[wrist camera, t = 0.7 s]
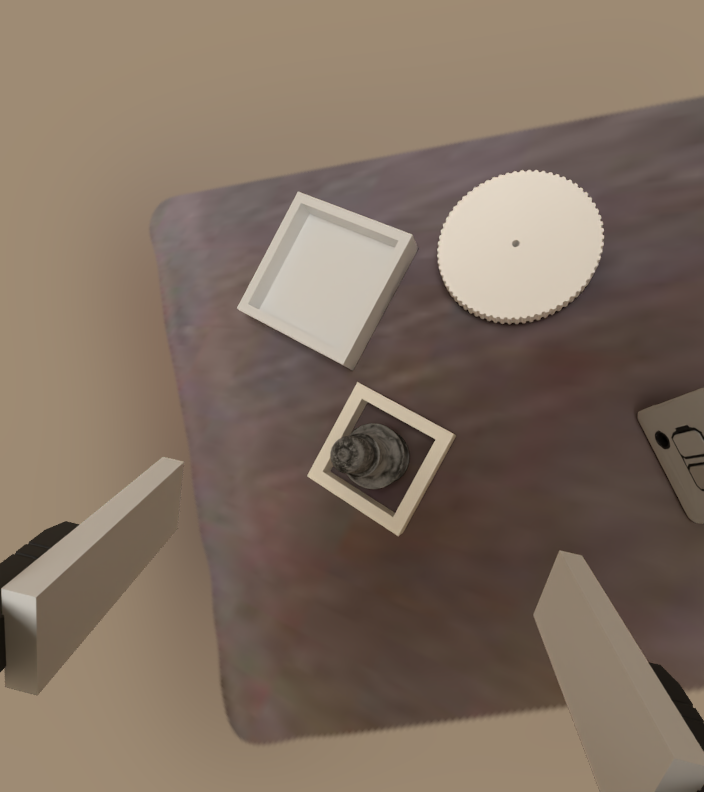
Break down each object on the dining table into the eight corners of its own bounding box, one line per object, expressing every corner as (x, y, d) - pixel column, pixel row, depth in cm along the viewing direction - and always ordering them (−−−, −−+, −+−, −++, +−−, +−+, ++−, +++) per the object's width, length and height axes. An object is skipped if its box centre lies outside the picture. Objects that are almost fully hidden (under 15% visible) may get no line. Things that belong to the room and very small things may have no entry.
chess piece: (422, 442, 43) (392, 435, 31) (396, 498, 43) (356, 510, 31) (369, 416, 45) (323, 400, 33) (344, 469, 45) (289, 472, 34)
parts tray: (418, 248, 45) (412, 234, 43) (352, 370, 46) (342, 364, 43) (309, 206, 50) (298, 191, 48) (251, 317, 51) (236, 308, 48)
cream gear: (606, 183, 41) (612, 166, 38) (589, 332, 40) (594, 324, 37) (451, 188, 46) (448, 173, 43) (431, 322, 44) (427, 314, 42)
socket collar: (456, 435, 42) (454, 434, 40) (403, 533, 42) (398, 536, 40) (363, 385, 45) (357, 382, 43) (315, 475, 46) (307, 476, 44)
